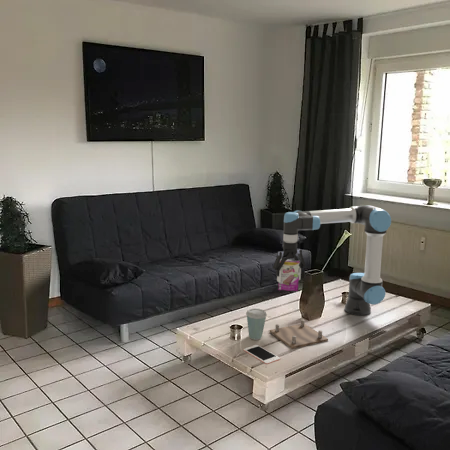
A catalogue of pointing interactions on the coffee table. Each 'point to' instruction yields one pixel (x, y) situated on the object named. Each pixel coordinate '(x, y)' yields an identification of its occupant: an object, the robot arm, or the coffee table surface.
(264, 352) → the cell phone
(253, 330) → the disposable coffee cup
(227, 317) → the coffee table surface
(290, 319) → the coffee table surface
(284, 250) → the robot arm
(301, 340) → the pin dock
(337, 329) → the coffee table surface
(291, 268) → the candy bar box
